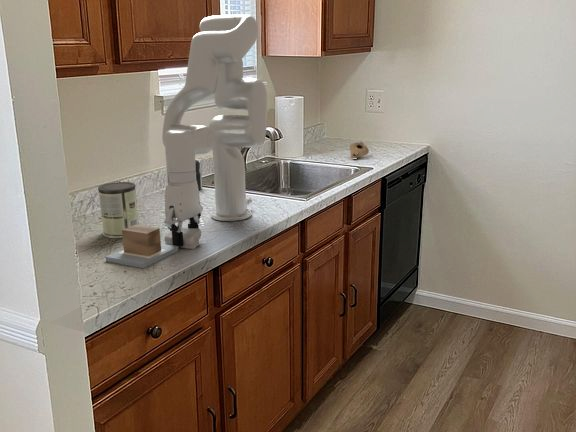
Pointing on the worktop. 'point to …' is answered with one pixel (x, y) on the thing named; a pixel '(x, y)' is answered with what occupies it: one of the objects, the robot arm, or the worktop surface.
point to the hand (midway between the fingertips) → (186, 241)
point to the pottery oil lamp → (358, 150)
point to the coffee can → (118, 207)
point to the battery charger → (198, 173)
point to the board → (141, 257)
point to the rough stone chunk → (186, 238)
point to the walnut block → (141, 240)
